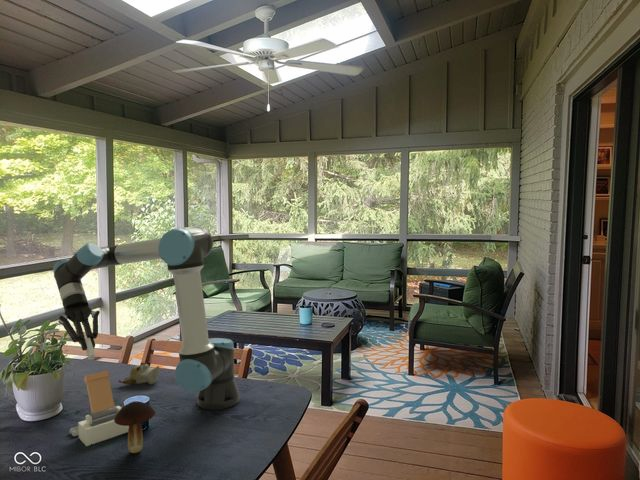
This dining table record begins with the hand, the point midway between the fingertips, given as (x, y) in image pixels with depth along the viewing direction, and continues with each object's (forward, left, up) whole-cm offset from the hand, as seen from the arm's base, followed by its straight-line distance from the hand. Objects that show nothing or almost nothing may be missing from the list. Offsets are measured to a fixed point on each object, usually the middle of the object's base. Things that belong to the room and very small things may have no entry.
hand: (91, 357), depth 149 cm
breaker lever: (-7, +7, -17) cm, 19 cm away
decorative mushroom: (-21, +16, -23) cm, 35 cm away
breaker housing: (-4, +5, -23) cm, 24 cm away
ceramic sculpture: (-1, -36, -23) cm, 43 cm away
